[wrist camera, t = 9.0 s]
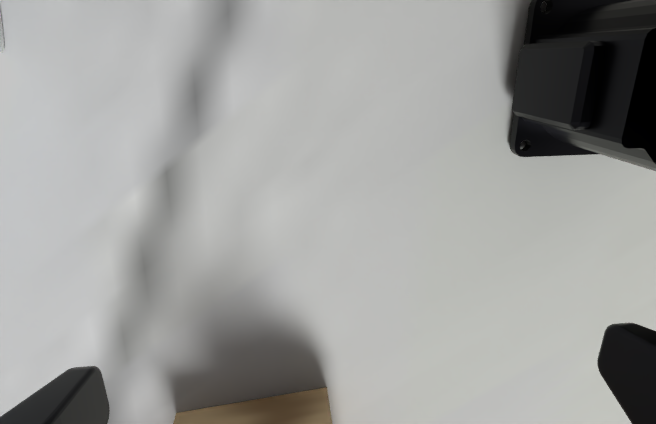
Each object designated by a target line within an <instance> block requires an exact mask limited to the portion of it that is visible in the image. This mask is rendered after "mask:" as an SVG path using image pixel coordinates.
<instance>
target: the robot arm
mask: <svg viewBox="0 0 656 424" xmlns="http://www.w3.org/2000/svg"><path fill="white" fill-rule="evenodd" d="M543 1H545V3H546V4H547V9H546V11H545V12H544V13H542V12H541V8H540V7H541V4H542V2H543ZM512 111H513V112H514V119H513V126H512V133H511V140H510V149H511V151H512V152H513V153H514V154H516V155H518V156H522V157H533V156H560V155H586V154H602V155H605V156H609V157H612V158H615V159H618V160H622V161H625V162H628V163H631V164H634V165H638V166H641V167H644V168H647V169H651V170H654V171H656V0H532V1H531V3H530V6H529V11H528V18H527V26H526V33H525V40H524V46H523V47H522V49H521V50H520V53H519V61H518V68H517V75H516V83H515V90H514V97H513V104H512ZM524 140H526V145H525V147H524V148H523V149H520V144H521V142H522V141H524ZM598 368H599V371H600V374H601V375H602V377H603V379H604V380H605V382H606V383H607V385H608V387H609V388H610V390H611V391H612V393H613V394H614V396H615V398H616V399H617V401H618V402H619V404H620V405H621V407H622V409H623V410H624V412H625V413H626V415H627V416H628V418H629V420H630V421H631V423H632V424H656V331H653V330H651V329H648V328H645V327H643V326H640V325H637V324H634V323H620V324H612V325H610V326H608V327H607V329H606V330H605V333H604V337H603V341H602V345H601V348H600V352H599V356H598ZM108 419H109V402H108V398H107V394H106V390H105V385H104V381H103V377H102V374H101V371H100V369H99V368H98V367H95V366H88V367H75V368H71V369H69V370H67V371H65V372H64V373H63V374H61V375H60V376H58V377H57V378H55V379H54V380H53V381H51V382H50V383H48V384H47V385H45V386H44V387H42V388H41V389H40V390H38V391H37V392H35V393H34V394H32V395H31V396H30V397H28V398H27V399H25V400H24V401H22V402H21V403H20V404H18V405H17V406H15V407H14V408H12V409H11V410H10V411H8V412H7V413H5V414H4V415H2V416H1V417H0V424H107V423H108Z"/></svg>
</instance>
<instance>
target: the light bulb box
mask: <svg viewBox="0 0 656 424" xmlns="http://www.w3.org/2000/svg"><path fill="white" fill-rule="evenodd" d="M3 51H4V36H3V27H2V20H1V12H0V54H1V53H3Z"/></svg>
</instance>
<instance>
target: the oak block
mask: <svg viewBox="0 0 656 424" xmlns="http://www.w3.org/2000/svg"><path fill="white" fill-rule="evenodd" d="M173 424H332V420H331V413H330V406H329V399H328V393H327V387H326V388H320V389H314V390H308V391H302V392H296V393H290V394H285V395H279V396H273V397H267V398H261V399H255V400H249V401H244V402H238V403H232V404H226V405H220V406H214V407H208V408H203V409H197V410H191V411H185V412H179V413H176V416H175V420H174V423H173Z"/></svg>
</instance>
